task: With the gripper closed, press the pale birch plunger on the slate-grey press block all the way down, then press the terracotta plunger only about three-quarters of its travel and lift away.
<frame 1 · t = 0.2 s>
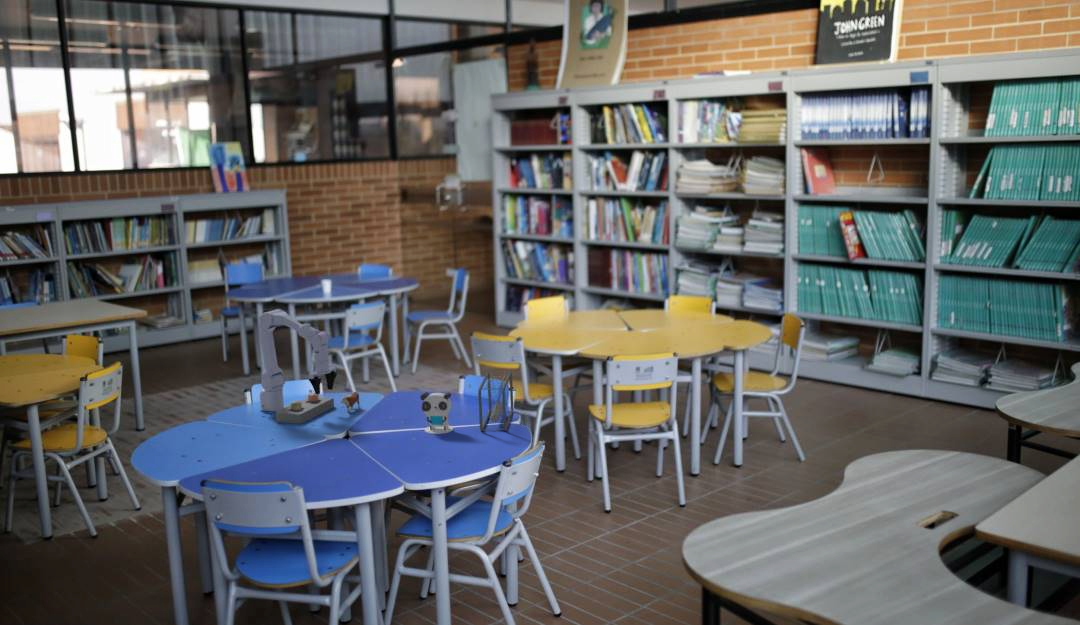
hand: (323, 391, 410), 10 cm above the table, tool pointing down, fingers open, 7 cm apart
birch plunger: (296, 406, 405), point 5 cm above the table, slide at 0.0 cm
panda figurine: (438, 430, 383), on the table
press block: (305, 414, 412), on the table
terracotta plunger: (313, 398, 417), point 5 cm above the table, slide at 0.0 cm
bull figurine: (351, 411, 415), on the table
newton's cradle: (497, 422, 392), on the table
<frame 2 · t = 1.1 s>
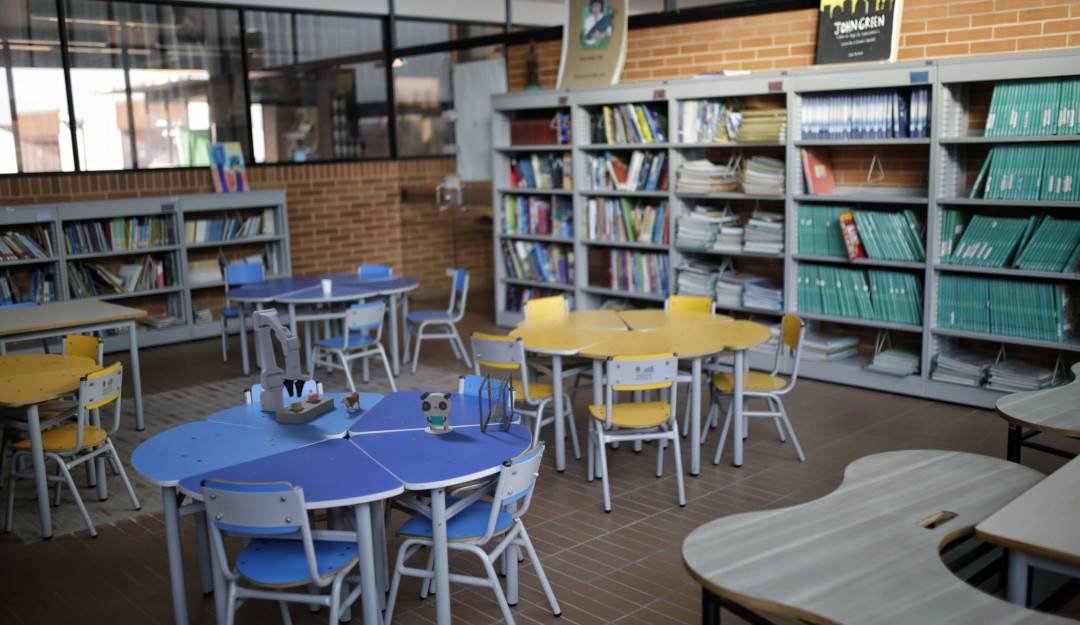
hand: (295, 396, 404), 9 cm above the table, tool pointing down, fingers open, 3 cm apart
nothing on the table moved.
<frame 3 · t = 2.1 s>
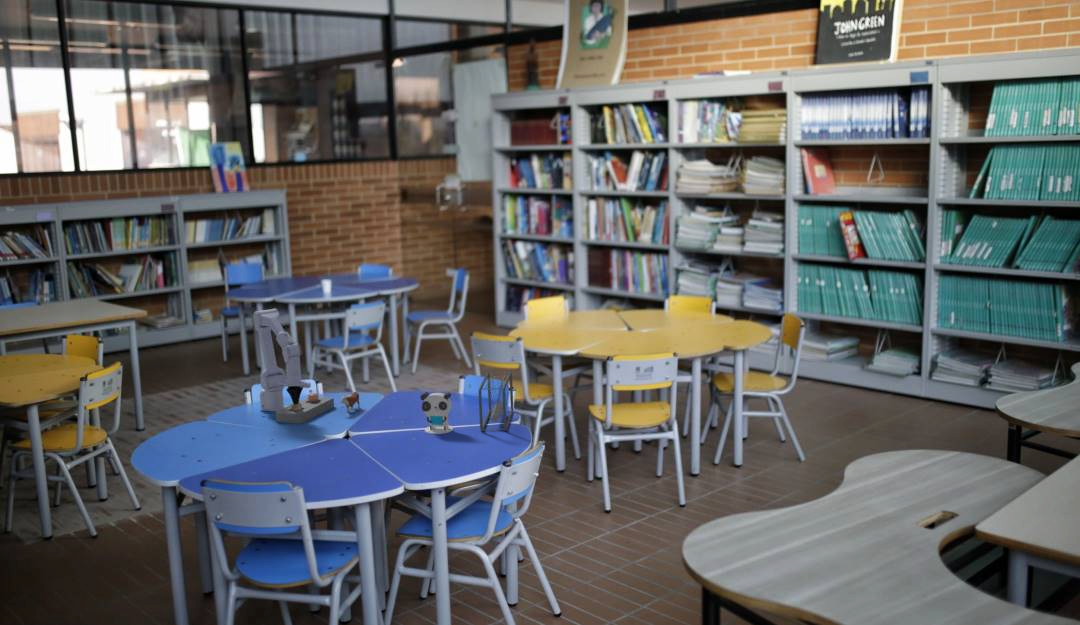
hand: (296, 403, 405), 6 cm above the table, tool pointing down, fingers closed, pressing on birch plunger
birch plunger: (296, 407, 405), point 5 cm above the table, slide at 0.5 cm, touching gripper
everything else where it was.
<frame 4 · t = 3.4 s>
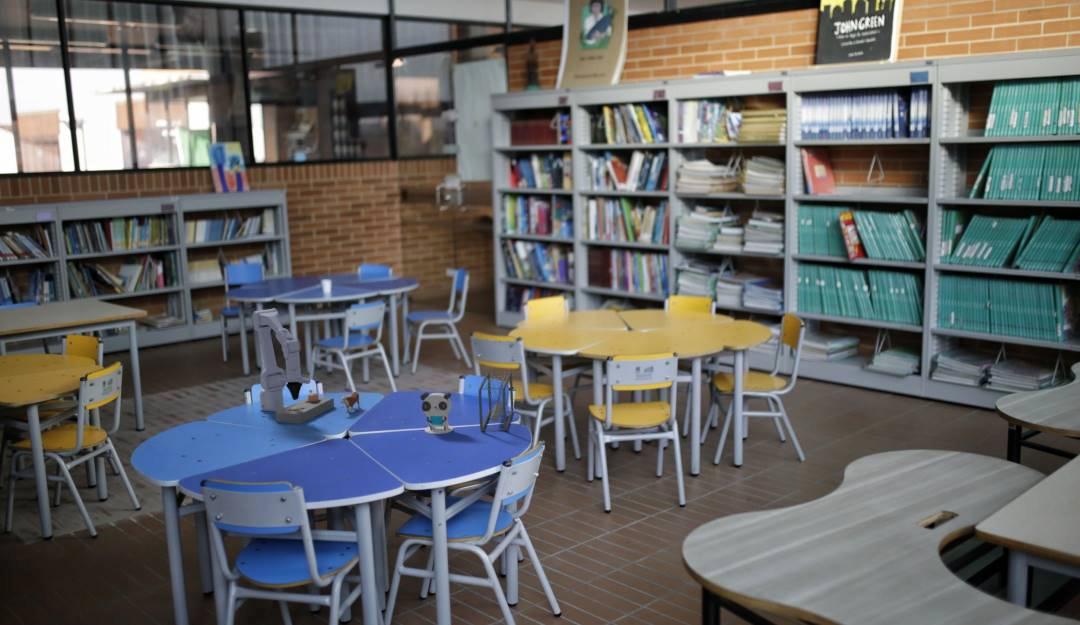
hand: (295, 399, 405), 8 cm above the table, tool pointing down, fingers closed
birch plunger: (296, 412, 406), point 3 cm above the table, slide at 2.6 cm
everything else where it was.
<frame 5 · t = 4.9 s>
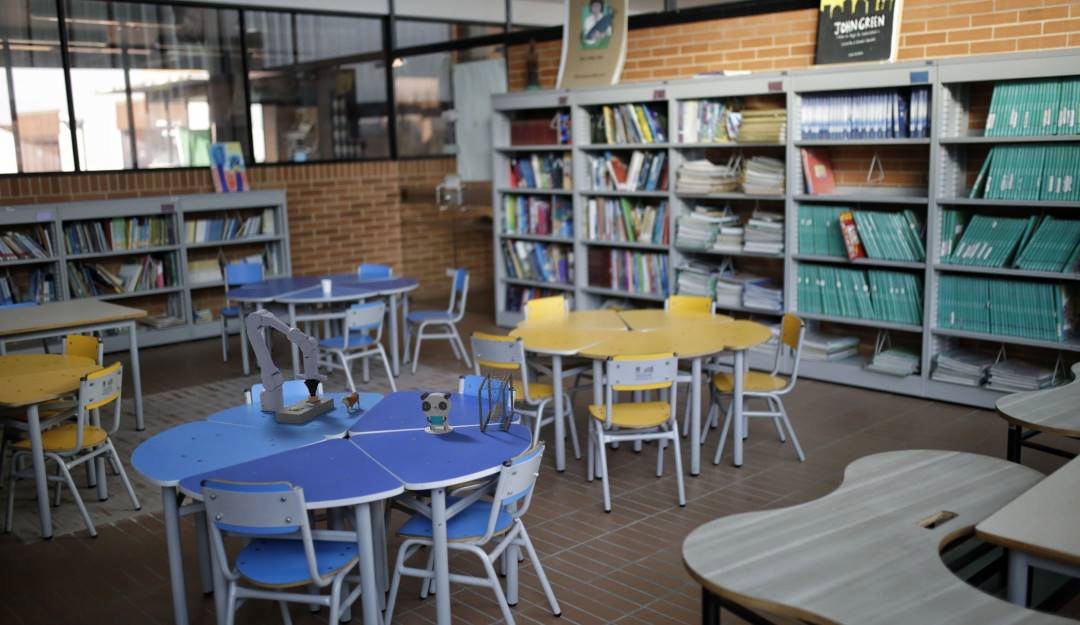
hand: (313, 396, 417), 6 cm above the table, tool pointing down, fingers closed, pressing on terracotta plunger
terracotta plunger: (313, 399, 417), point 5 cm above the table, slide at 0.7 cm, touching gripper
everything else where it was.
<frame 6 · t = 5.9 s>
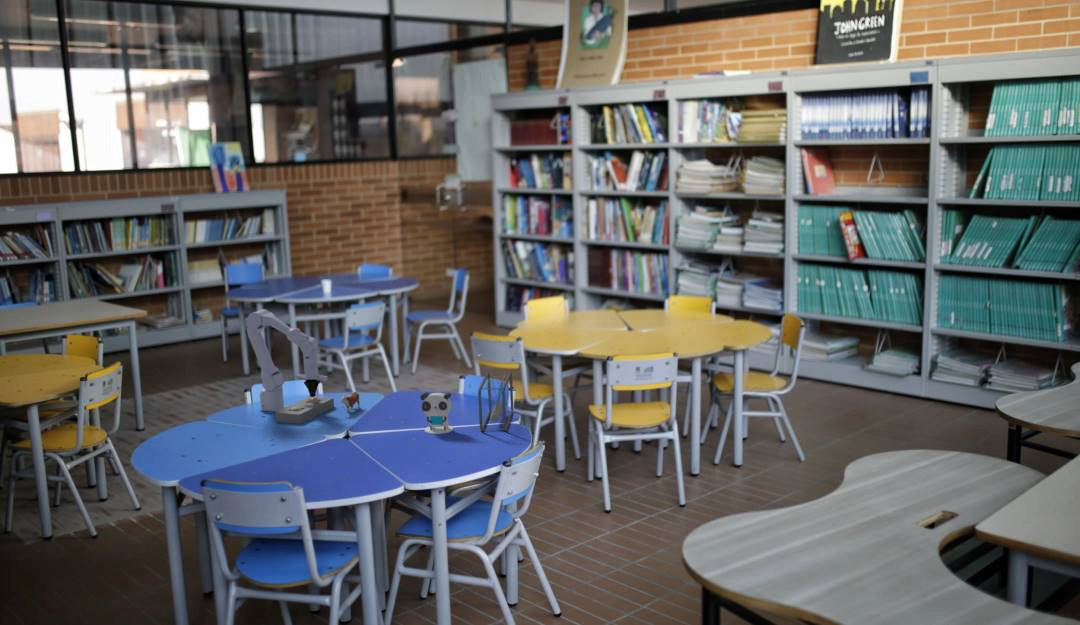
hand: (313, 396, 417), 6 cm above the table, tool pointing down, fingers closed
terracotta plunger: (313, 402, 417), point 3 cm above the table, slide at 1.8 cm
everything else where it was.
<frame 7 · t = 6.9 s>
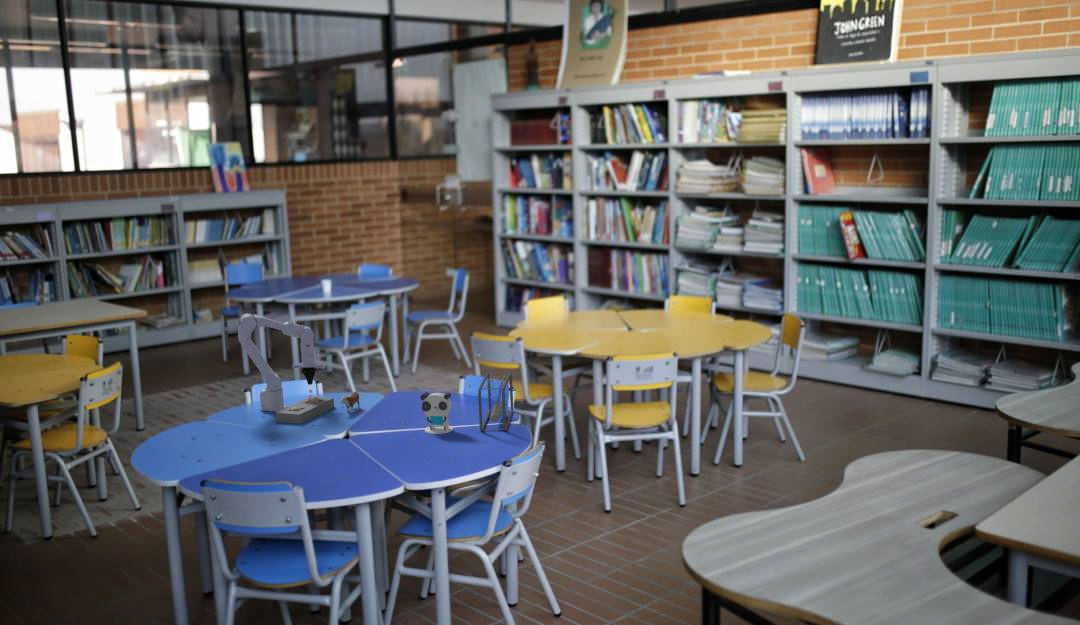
hand: (310, 384, 425), 9 cm above the table, tool pointing down, fingers closed
nothing on the table moved.
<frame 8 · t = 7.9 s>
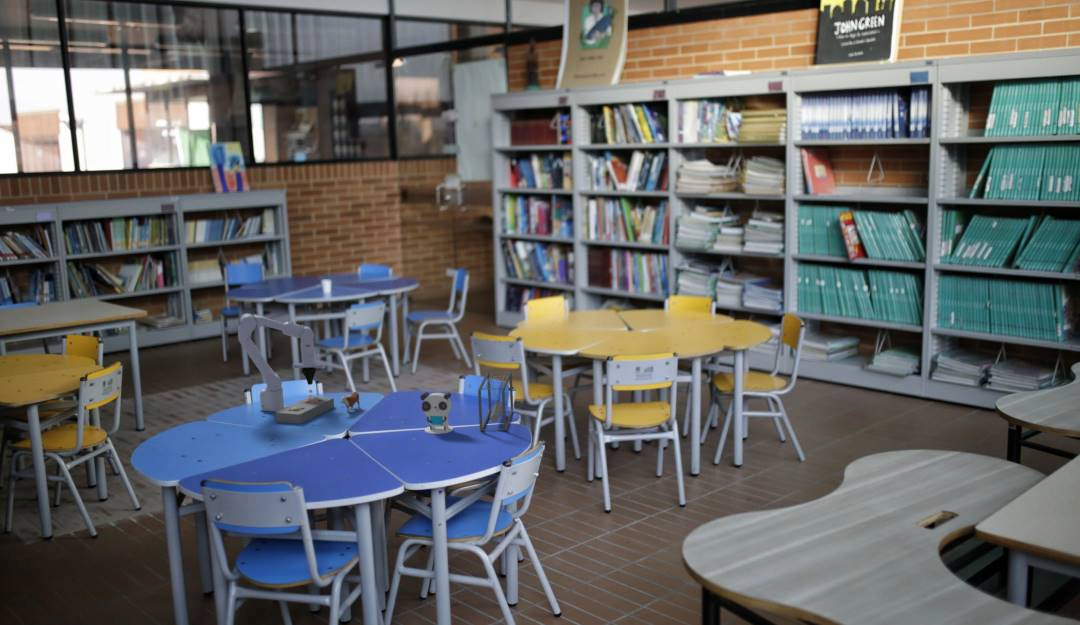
hand: (310, 384, 425), 9 cm above the table, tool pointing down, fingers closed
nothing on the table moved.
at the end: birch plunger slide at 2.6 cm; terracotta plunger slide at 1.8 cm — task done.
